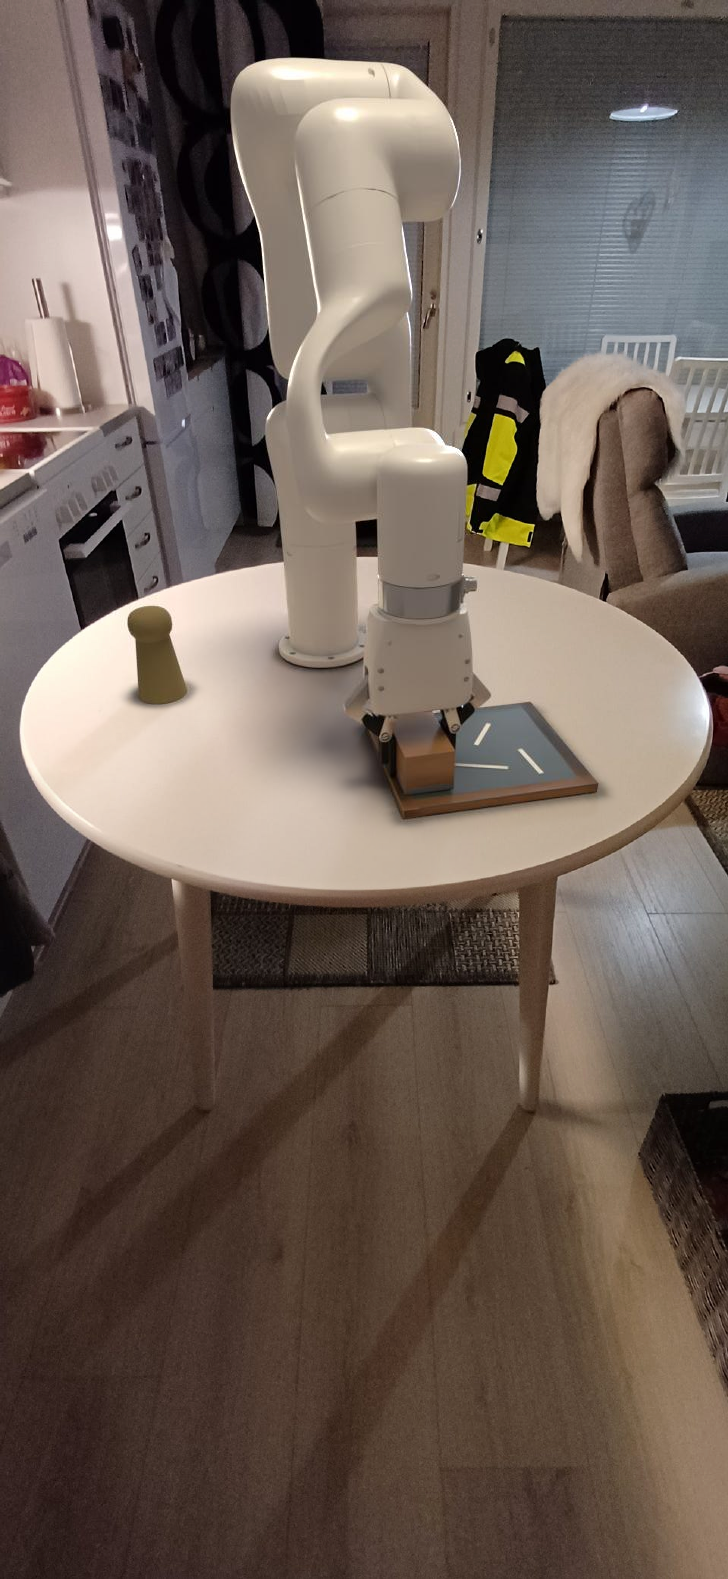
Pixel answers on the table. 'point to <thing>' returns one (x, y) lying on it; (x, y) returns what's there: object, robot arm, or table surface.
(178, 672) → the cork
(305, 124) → the robot arm
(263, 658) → the table surface
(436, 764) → the eraser
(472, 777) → the chalkboard
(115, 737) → the table surface
